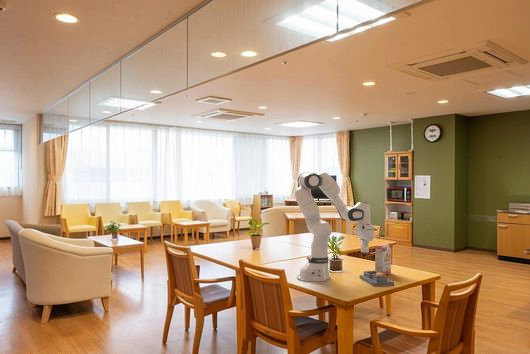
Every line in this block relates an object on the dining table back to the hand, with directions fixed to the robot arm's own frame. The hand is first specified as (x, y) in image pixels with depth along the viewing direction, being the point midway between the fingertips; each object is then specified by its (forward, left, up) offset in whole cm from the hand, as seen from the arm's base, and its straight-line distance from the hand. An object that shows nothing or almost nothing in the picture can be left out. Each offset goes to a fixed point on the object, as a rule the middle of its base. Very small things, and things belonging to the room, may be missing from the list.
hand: (364, 245), depth 270 cm
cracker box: (+13, -2, -21) cm, 24 cm away
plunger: (0, -23, -17) cm, 29 cm away
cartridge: (0, 0, -5) cm, 5 cm away
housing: (0, -18, -20) cm, 27 cm away
